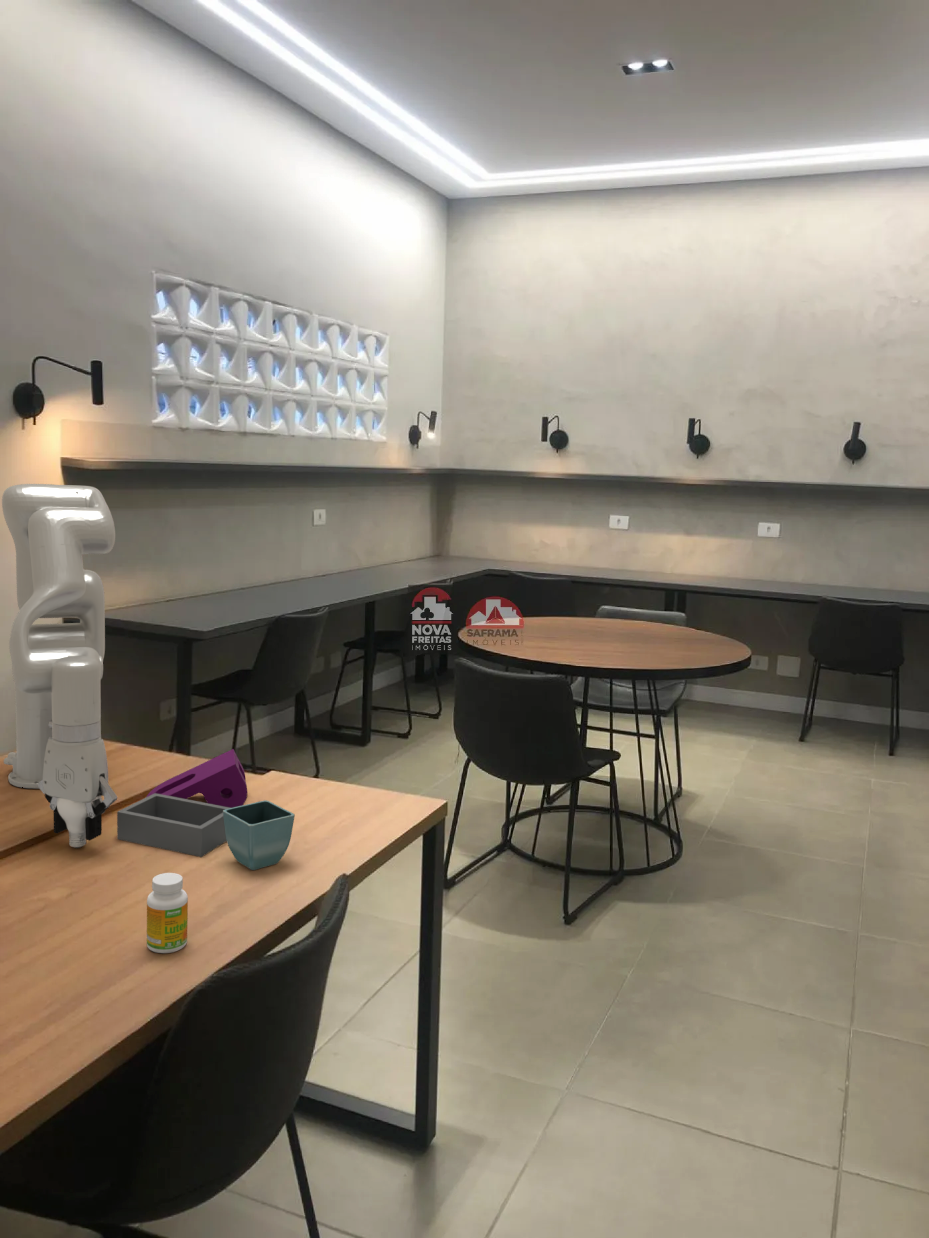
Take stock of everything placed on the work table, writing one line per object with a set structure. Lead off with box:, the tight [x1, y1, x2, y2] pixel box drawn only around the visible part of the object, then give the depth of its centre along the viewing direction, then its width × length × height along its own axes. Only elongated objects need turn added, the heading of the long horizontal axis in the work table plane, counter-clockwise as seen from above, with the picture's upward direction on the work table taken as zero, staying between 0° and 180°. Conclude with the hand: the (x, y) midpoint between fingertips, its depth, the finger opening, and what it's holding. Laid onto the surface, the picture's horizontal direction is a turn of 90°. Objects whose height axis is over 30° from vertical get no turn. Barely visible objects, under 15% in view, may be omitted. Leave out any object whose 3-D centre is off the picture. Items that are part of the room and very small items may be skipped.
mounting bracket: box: [146, 748, 248, 808], centre depth 187 cm, size 10×8×18 cm
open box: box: [116, 793, 229, 858], centre depth 171 cm, size 17×10×5 cm, turn 71°
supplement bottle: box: [146, 872, 189, 954], centre depth 134 cm, size 5×5×10 cm
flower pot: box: [223, 799, 296, 871], centre depth 162 cm, size 9×9×9 cm
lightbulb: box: [57, 798, 96, 849], centre depth 164 cm, size 6×6×11 cm
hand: (77, 833), depth 164 cm, fingers closed on lightbulb, 5 cm apart
